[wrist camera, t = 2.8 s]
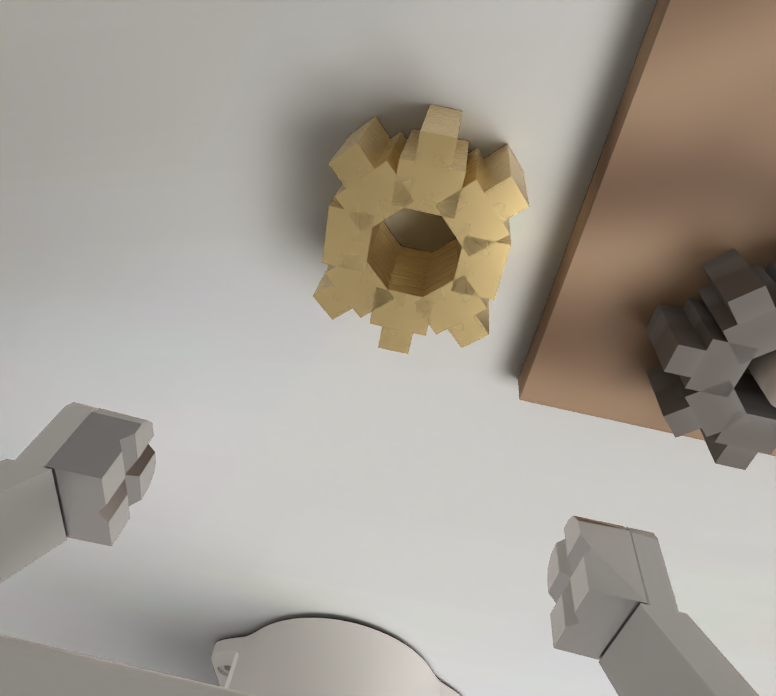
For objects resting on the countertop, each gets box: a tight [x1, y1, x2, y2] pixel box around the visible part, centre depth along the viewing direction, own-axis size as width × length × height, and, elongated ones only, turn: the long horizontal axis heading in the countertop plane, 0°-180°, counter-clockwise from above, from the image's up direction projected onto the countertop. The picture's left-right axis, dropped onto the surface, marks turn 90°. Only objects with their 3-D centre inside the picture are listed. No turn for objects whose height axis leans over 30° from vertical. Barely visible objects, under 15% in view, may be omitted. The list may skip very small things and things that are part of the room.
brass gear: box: [313, 104, 529, 354], centre depth 23 cm, size 8×7×4 cm
